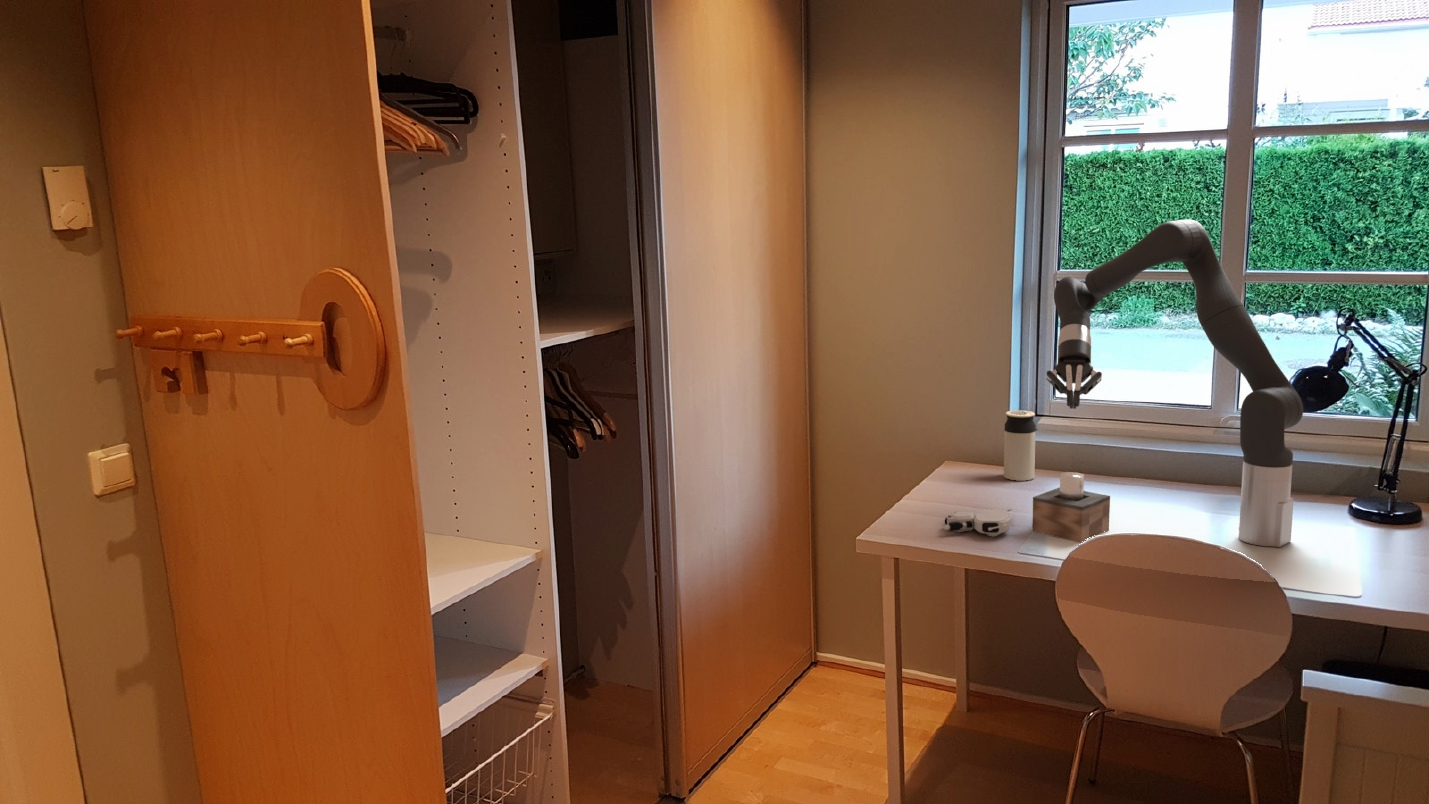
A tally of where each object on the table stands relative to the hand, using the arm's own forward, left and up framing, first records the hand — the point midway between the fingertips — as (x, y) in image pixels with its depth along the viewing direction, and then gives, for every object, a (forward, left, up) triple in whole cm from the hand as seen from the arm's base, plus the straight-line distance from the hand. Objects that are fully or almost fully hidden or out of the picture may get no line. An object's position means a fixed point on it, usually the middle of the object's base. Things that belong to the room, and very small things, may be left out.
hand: (1073, 406), depth 236 cm
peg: (-6, +10, -21) cm, 24 cm away
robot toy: (+9, +24, -27) cm, 37 cm away
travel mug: (+28, -23, -27) cm, 45 cm away
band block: (-6, +10, -26) cm, 29 cm away
